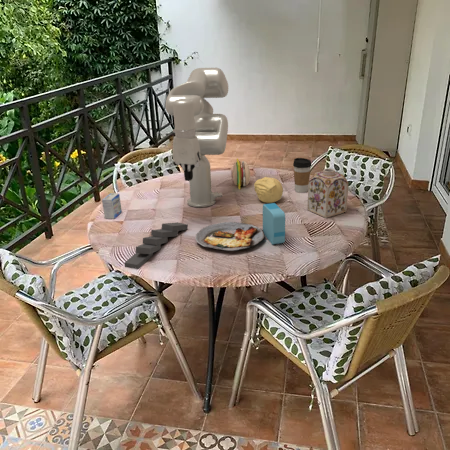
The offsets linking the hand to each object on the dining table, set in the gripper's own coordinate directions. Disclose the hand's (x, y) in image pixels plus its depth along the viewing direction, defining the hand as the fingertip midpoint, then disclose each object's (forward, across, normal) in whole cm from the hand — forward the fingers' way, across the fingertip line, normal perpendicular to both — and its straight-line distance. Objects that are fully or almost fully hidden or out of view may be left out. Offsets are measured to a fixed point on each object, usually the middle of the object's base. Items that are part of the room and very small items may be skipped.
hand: (188, 179), depth 176 cm
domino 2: (+16, +1, -27) cm, 31 cm away
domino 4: (+16, 0, -14) cm, 22 cm away
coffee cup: (+19, +29, +51) cm, 62 cm away
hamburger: (+19, 0, +48) cm, 52 cm away
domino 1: (+16, 0, -21) cm, 27 cm away
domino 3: (+16, +1, -32) cm, 36 cm away
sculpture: (+19, +20, +34) cm, 43 cm away
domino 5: (+16, 0, -8) cm, 18 cm away
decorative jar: (+18, +47, +31) cm, 59 cm away
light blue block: (+18, +36, -2) cm, 40 cm away
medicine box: (+18, -34, -8) cm, 39 cm away
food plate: (+18, +22, -10) cm, 30 cm away
